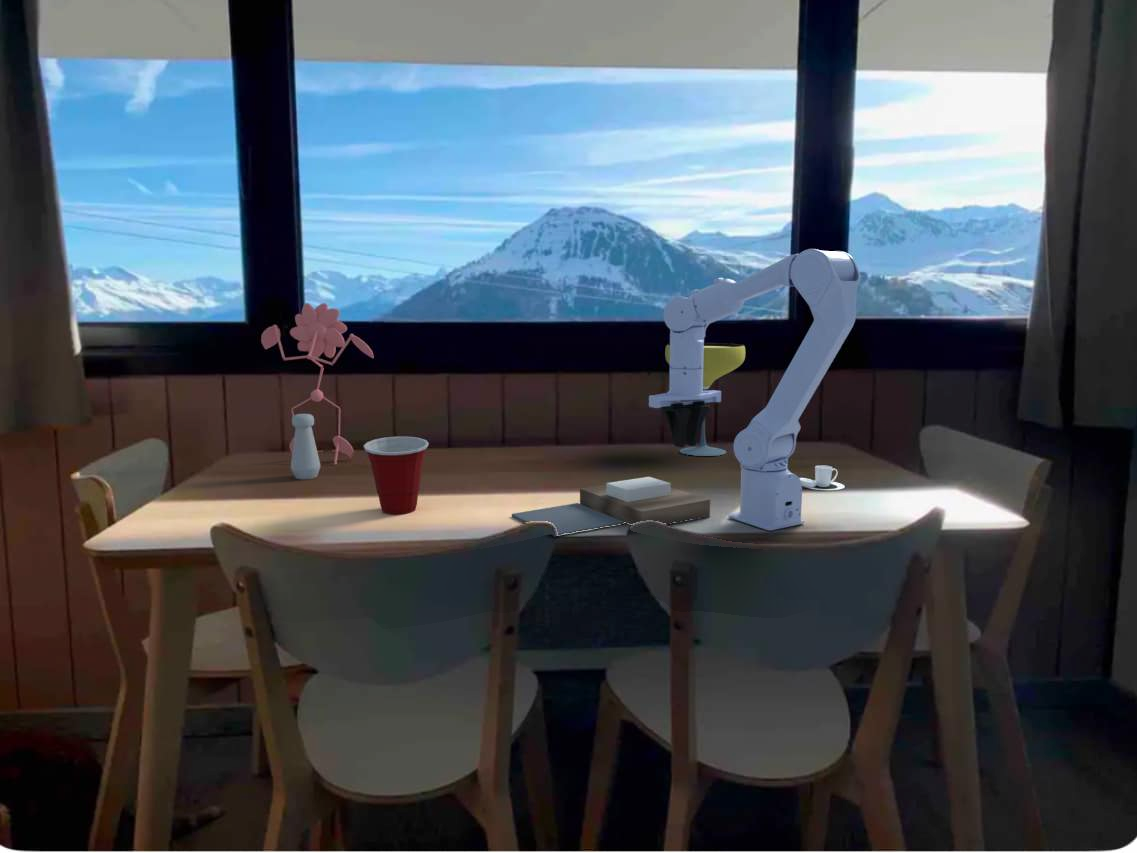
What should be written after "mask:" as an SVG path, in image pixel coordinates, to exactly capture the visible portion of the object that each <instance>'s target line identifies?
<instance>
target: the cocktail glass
mask: <svg viewBox="0 0 1137 853" xmlns="http://www.w3.org/2000/svg"><path fill="white" fill-rule="evenodd" d="M664 354H665V355H664V356H665V361H666V362H667V364H668V365H669V366H670V343H668V344H667V345H666V346H665V351H664ZM745 359H746V347H745V345H744V344H740V343H739V344H737V343H726V342H724V343H723V342H722V343H720V342H719V343H718V342H704V355H703V391H707V390H708V389H710V387H711V386H712V384H713V383H714V382H715V381H716V380H718V379H719V378H720V377H723V376H724V375H727V374H729V373H731V372H733V371H734V370H736V369H738V368H739V367H740V366H741V365H742V364H743V363H744V361H745ZM679 453H680V454H681V453H682V454H681V455H684V454H686V455H685V456H688V455H693V456H692V457H696V456H716V457H721V456H720V455H722V456H725V455H727V450H724V449H722V448H718V447H712V446H709V445H707V439H706V418H705V419H704V421H703V423H702V425H701V433H700V441H699V444H698V445H697V446H696V445H695V446H690V447H682V448H681V449H679ZM724 454H725V455H724Z"/></svg>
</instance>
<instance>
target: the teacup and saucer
mask: <svg viewBox="0 0 1137 853" xmlns="http://www.w3.org/2000/svg"><path fill="white" fill-rule="evenodd" d="M814 469H815V470H814V475H815V476H814V477H815V478H814V480H813V479H810V478H807V477H799V479H800V481H801V484H802V487H804V488H806V489H811V490H817V491H830V492H831V491H839V490H843V489H845V485H844V484H842V483H839V482H837V481H835V480H836V479H837V476H838V473H839V472H838V470H837V469H836V468H835V467H834V468H833V466H830V465H823V464H822V465H815V467H814ZM833 471H836V473H835V474H834V477H833V478H832V473H833ZM830 485H834V486H836V487H835V488H829V489H828V487H829V486H830ZM816 486H817V487H820V488H817V487H816ZM825 488H826V489H825Z"/></svg>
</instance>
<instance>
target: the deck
mask: <svg viewBox="0 0 1137 853" xmlns="http://www.w3.org/2000/svg"><path fill="white" fill-rule="evenodd" d="M579 504H581V505H584V506H586V507H589V508H591V509H594V510H596V511H599V512H601V513H604V514H606V515H609V516H611V517H614V518H616V519H619V520H621V521H624V522H626V523H629V524H633V523H636V522H640V521H646V520H653V521H659V522H662V523H666V524H670V523H673V522H680V521H685V520H690V519H697V520H699V519H698V518H703V519H706V517H708V518H710V517H711V514H710V513H711V499H709V498H707V497H704V496H700V495H696V494H693V493H691V492H688V491H684V490H681V489H677V488H674V487H672V486H671V494H670V495H667V496H661V497H655V498H649V499H643V500H637V501H631V502H625V501H623V500H620V499H617V498H614V497H612V496H609V495H606V484H603V485H596V486H595V485H594V486H589V487H582V488H579Z"/></svg>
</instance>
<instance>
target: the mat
mask: <svg viewBox="0 0 1137 853" xmlns="http://www.w3.org/2000/svg"><path fill="white" fill-rule="evenodd" d="M511 517H512V518H513V519H516V520H518V521H520V522H521V523H524V524H526V523H525V522H530V521H548V522H551V523H553V524H554V525H555V527H556V529H557V532H558V535H561V534H564V533H572V532H576V531H582V530H588V529H594V528H600V527H605V526H612V525H618V524H623V523H624V521H621V520H619V519H616V518H614V517H611V516H609V515H606V514H604V513H601V512H599V511H596V510H594V509H591V508H589V507H586V506H584V505H581V504H580V502H579V503H578V502H575V503H569V504H565V505H564V504H563V505H557V506H551V507H545V508H539V509H538V508H537V509H532V510H526V511H522V512H514V513H511ZM624 524H625V523H624Z"/></svg>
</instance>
